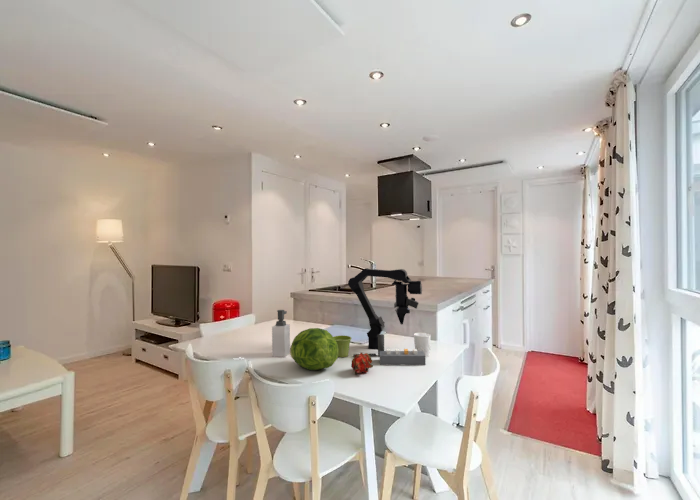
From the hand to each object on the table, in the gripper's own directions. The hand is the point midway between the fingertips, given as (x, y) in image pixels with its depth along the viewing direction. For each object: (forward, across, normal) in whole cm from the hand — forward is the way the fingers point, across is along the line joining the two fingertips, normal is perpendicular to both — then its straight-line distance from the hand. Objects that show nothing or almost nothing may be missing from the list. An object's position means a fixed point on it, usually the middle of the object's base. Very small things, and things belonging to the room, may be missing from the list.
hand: (401, 324), depth 169 cm
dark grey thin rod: (+13, -11, +19) cm, 26 cm away
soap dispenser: (+13, -8, +60) cm, 62 cm away
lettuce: (+13, -26, +42) cm, 52 cm away
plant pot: (+13, -10, +30) cm, 34 cm away
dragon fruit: (+13, -32, +20) cm, 40 cm away
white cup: (+13, -8, -9) cm, 18 cm away
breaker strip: (+13, -19, +2) cm, 23 cm away
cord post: (+13, -10, +11) cm, 20 cm away
